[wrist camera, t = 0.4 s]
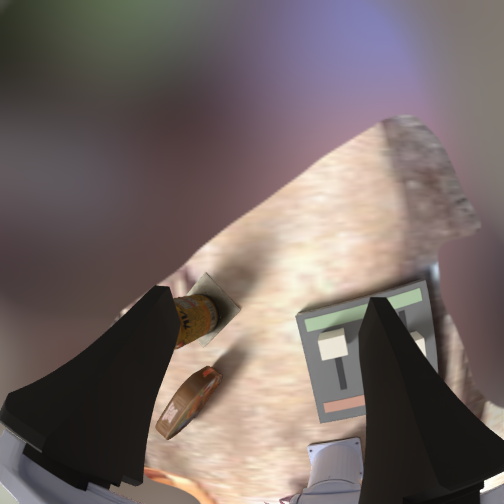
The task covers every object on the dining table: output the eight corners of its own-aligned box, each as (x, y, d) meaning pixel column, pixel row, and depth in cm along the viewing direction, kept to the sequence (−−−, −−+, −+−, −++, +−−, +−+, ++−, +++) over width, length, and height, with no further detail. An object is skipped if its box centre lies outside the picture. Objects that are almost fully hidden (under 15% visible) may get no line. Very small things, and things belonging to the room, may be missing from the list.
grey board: (435, 387, 30) (439, 393, 28) (321, 416, 35) (320, 423, 33) (421, 278, 32) (425, 280, 30) (297, 313, 37) (295, 316, 35)
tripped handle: (418, 348, 30) (426, 357, 26) (397, 355, 30) (402, 364, 27) (416, 330, 30) (424, 338, 26) (394, 337, 31) (399, 345, 27)
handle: (347, 345, 32) (348, 354, 29) (323, 351, 33) (322, 360, 30) (343, 327, 33) (344, 334, 29) (319, 333, 33) (317, 341, 30)
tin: (188, 425, 41) (162, 449, 33) (173, 414, 42) (146, 436, 34) (230, 368, 39) (205, 390, 31) (213, 355, 40) (185, 374, 32)
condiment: (172, 311, 42) (120, 326, 31) (205, 272, 41) (156, 276, 29) (204, 347, 40) (158, 374, 29) (241, 309, 39) (201, 328, 27)
